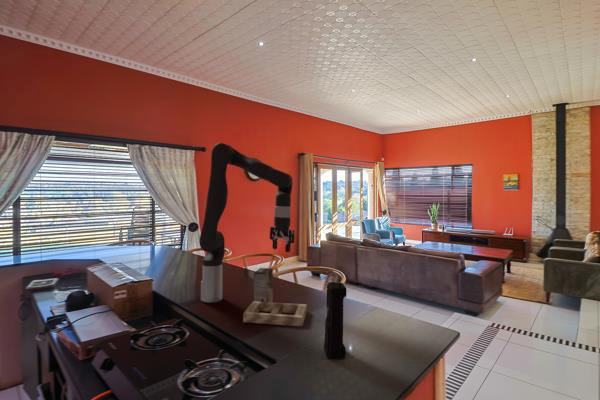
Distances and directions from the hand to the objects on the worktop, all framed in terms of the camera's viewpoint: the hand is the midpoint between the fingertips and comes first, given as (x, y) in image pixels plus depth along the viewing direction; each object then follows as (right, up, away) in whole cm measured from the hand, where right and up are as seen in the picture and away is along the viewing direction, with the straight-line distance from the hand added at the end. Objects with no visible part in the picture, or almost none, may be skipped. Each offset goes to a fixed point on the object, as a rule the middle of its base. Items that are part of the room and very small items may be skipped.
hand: (281, 250), depth 142 cm
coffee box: (-8, -25, 0) cm, 27 cm away
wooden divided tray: (-1, -26, -14) cm, 29 cm away
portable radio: (+20, -27, -42) cm, 54 cm away
